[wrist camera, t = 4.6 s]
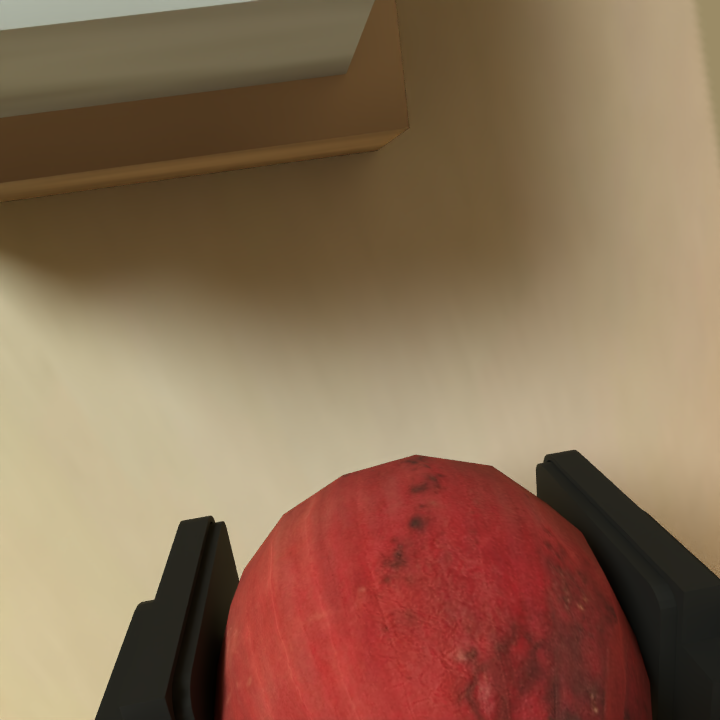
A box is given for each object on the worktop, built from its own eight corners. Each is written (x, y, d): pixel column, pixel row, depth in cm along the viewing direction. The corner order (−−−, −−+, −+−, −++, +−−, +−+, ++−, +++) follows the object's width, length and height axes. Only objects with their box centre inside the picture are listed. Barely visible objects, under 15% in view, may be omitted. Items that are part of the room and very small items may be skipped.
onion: (352, 332, 11) (512, 699, 3) (571, 479, 12) (1051, 975, 4) (186, 562, 12) (-11, 1281, 4) (408, 672, 13) (574, 1344, 5)
